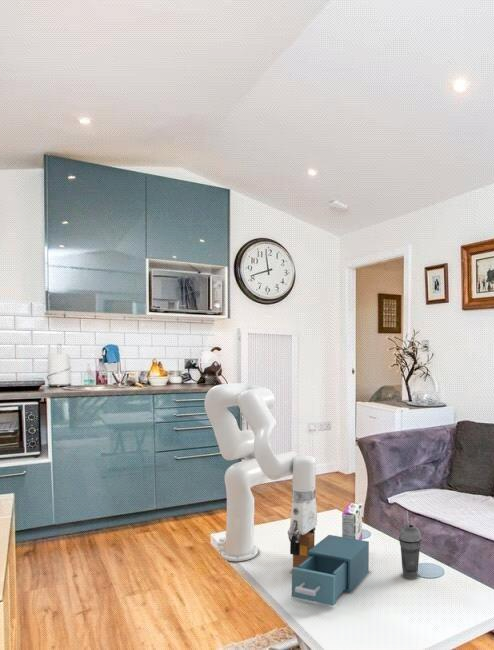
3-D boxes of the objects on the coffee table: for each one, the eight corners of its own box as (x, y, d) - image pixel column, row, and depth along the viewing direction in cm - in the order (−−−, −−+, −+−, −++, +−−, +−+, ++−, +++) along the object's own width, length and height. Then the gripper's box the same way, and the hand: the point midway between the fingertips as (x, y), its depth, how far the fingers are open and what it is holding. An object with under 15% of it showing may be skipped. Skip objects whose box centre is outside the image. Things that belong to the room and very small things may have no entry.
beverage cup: (415, 583, 151) (415, 516, 152) (394, 577, 155) (394, 512, 156) (425, 574, 157) (425, 510, 159) (405, 568, 161) (405, 506, 162)
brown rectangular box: (308, 576, 155) (309, 537, 156) (292, 572, 158) (293, 534, 158) (314, 571, 159) (314, 533, 160) (298, 568, 161) (298, 530, 162)
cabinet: (350, 592, 145) (350, 559, 146) (307, 583, 150) (307, 551, 151) (368, 572, 158) (368, 541, 159) (328, 564, 164) (328, 534, 165)
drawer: (325, 614, 132) (326, 584, 132) (283, 604, 137) (283, 575, 137) (352, 584, 148) (353, 557, 149) (313, 576, 153) (314, 550, 154)
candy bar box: (348, 549, 176) (349, 502, 177) (362, 550, 175) (362, 503, 176) (341, 562, 165) (341, 512, 166) (355, 564, 164) (356, 513, 165)
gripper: (300, 504, 151) (299, 561, 149) (326, 489, 167) (325, 540, 165) (279, 500, 154) (278, 557, 152) (306, 486, 169) (305, 537, 168)
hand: (302, 548), depth 159 cm, fingers open, 9 cm apart
